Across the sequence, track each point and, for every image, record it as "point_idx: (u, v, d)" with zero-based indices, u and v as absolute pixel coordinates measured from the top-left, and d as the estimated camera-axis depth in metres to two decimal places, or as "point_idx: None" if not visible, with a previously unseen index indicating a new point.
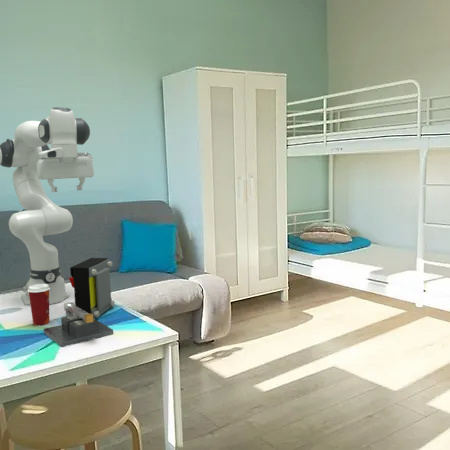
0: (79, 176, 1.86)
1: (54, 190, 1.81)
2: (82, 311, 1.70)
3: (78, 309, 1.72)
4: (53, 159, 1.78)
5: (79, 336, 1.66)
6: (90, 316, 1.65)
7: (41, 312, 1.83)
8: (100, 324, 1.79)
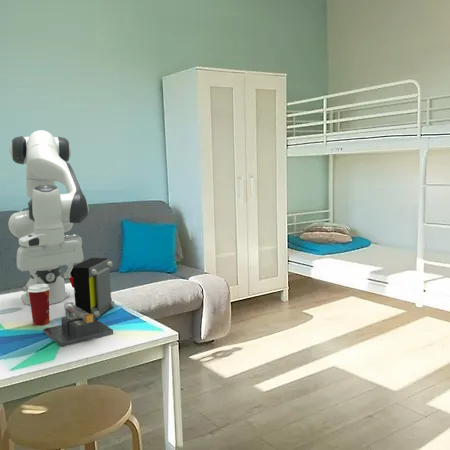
0: (66, 263, 1.61)
1: (37, 282, 1.56)
2: (82, 311, 1.70)
3: (78, 309, 1.72)
4: (35, 247, 1.53)
5: (79, 336, 1.66)
6: (90, 316, 1.65)
7: (41, 312, 1.83)
8: (100, 324, 1.79)
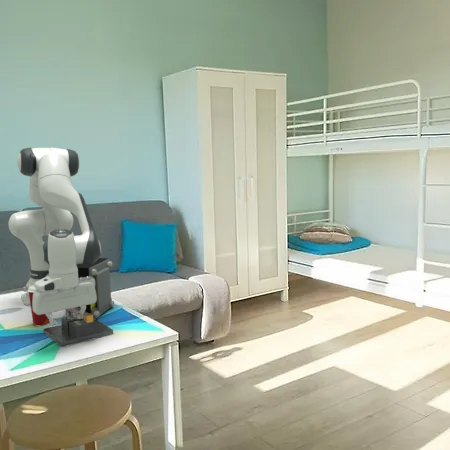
0: (80, 305, 1.65)
1: (53, 324, 1.61)
2: None
3: (78, 309, 1.72)
4: (51, 291, 1.58)
5: (79, 336, 1.66)
6: (90, 316, 1.65)
7: None
8: (100, 324, 1.79)
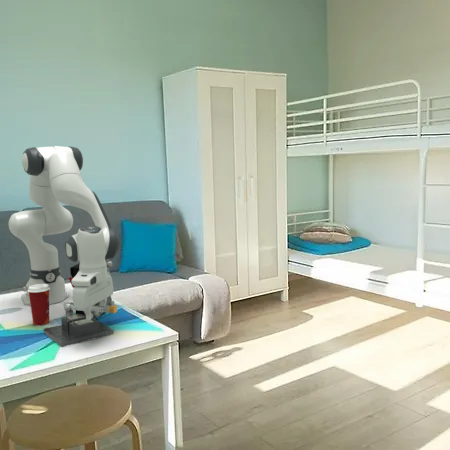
0: (106, 297, 1.73)
1: (91, 318, 1.66)
2: (98, 305, 1.76)
3: None
4: (93, 285, 1.63)
5: (79, 336, 1.66)
6: (115, 307, 1.75)
7: (41, 312, 1.83)
8: (100, 324, 1.79)
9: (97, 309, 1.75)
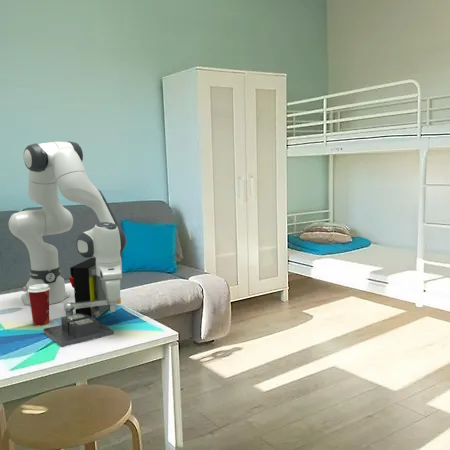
0: None
1: None
2: (102, 299, 1.83)
3: (93, 300, 1.82)
4: None
5: (79, 336, 1.66)
6: None
7: (41, 312, 1.83)
8: (100, 324, 1.79)
9: (102, 303, 1.83)
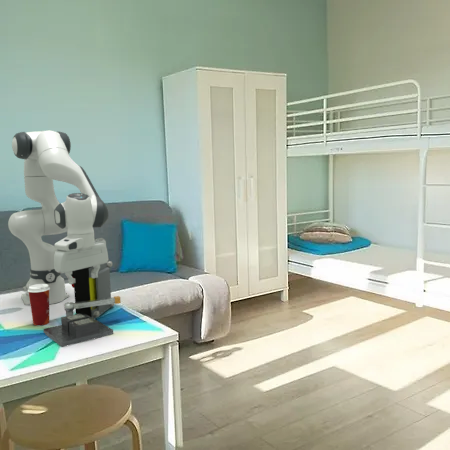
0: (95, 264, 1.76)
1: (73, 282, 1.70)
2: (102, 299, 1.84)
3: (93, 300, 1.82)
4: (73, 251, 1.67)
5: (79, 336, 1.66)
6: (119, 297, 1.86)
7: (41, 312, 1.83)
8: (100, 324, 1.79)
9: (102, 303, 1.83)
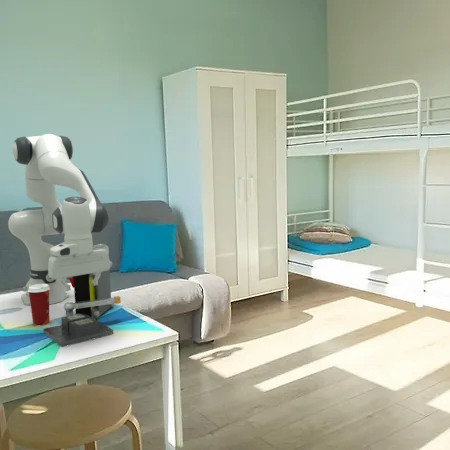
0: (94, 271, 1.69)
1: (67, 289, 1.64)
2: (102, 299, 1.84)
3: (93, 300, 1.82)
4: (66, 257, 1.61)
5: (79, 336, 1.66)
6: (119, 297, 1.86)
7: (41, 312, 1.83)
8: (100, 324, 1.79)
9: (102, 303, 1.83)
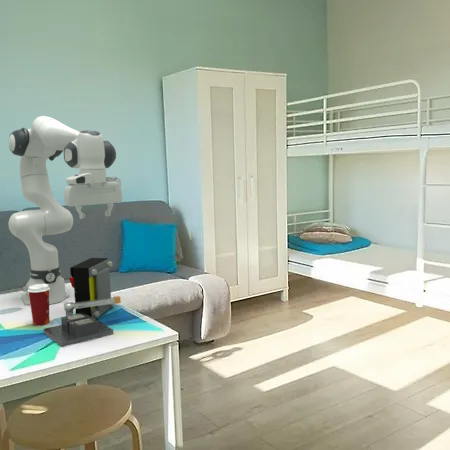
0: (108, 202, 1.78)
1: (82, 217, 1.74)
2: (102, 299, 1.84)
3: (93, 300, 1.82)
4: (82, 185, 1.71)
5: (79, 336, 1.66)
6: (119, 297, 1.86)
7: (41, 312, 1.83)
8: (100, 324, 1.79)
9: (102, 303, 1.83)
